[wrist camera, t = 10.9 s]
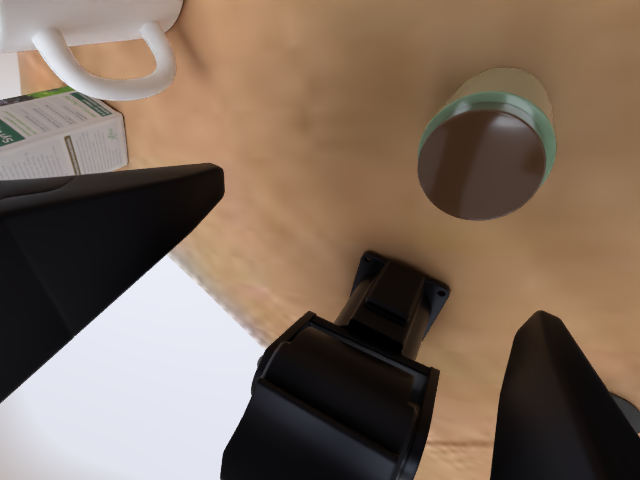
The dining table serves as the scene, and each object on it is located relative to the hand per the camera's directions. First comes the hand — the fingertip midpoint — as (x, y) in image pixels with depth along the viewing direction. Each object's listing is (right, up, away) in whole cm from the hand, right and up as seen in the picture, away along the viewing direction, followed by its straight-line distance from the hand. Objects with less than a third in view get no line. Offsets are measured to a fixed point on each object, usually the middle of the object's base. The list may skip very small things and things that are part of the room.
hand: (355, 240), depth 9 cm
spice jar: (+8, +6, +7) cm, 12 cm away
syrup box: (-22, +11, +23) cm, 33 cm away
